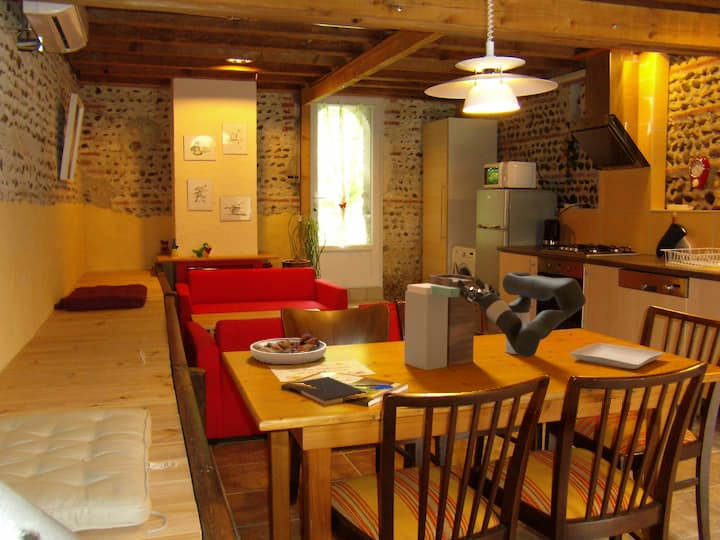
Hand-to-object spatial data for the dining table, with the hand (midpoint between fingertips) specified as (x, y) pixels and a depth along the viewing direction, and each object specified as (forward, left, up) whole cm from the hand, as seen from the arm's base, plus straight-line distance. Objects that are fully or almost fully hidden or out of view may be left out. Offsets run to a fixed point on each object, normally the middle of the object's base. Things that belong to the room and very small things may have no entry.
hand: (467, 281), depth 238 cm
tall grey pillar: (+11, -18, -34) cm, 40 cm away
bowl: (+63, -34, -35) cm, 80 cm away
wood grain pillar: (0, -24, -34) cm, 42 cm away
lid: (+9, -14, -6) cm, 17 cm away
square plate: (-66, -21, -35) cm, 77 cm away
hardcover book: (+50, +17, -35) cm, 63 cm away
